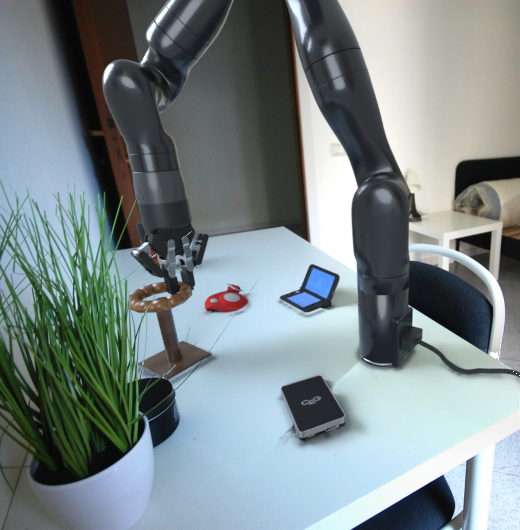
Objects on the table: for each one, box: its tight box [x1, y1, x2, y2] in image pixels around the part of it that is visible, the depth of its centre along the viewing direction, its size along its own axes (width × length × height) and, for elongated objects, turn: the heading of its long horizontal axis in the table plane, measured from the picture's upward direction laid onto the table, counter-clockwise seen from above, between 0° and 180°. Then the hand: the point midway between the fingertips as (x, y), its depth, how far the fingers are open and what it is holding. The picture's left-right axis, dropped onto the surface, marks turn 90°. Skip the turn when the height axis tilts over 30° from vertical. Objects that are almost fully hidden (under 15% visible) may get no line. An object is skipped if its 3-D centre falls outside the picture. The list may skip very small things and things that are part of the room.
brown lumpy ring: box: [128, 280, 193, 314], centre depth 64 cm, size 10×10×2 cm
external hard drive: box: [280, 374, 347, 442], centre depth 56 cm, size 7×11×2 cm, turn 26°
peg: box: [137, 296, 212, 380], centre depth 66 cm, size 9×9×13 cm
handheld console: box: [279, 263, 341, 314], centre depth 91 cm, size 12×11×7 cm
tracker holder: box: [203, 283, 249, 313], centre depth 91 cm, size 12×4×10 cm
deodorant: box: [135, 220, 160, 267], centre depth 116 cm, size 6×6×15 cm
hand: (182, 292), depth 67 cm, fingers closed on brown lumpy ring, 2 cm apart
